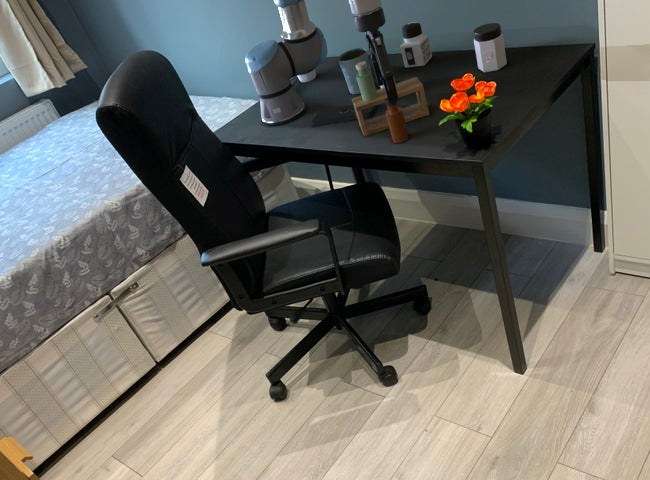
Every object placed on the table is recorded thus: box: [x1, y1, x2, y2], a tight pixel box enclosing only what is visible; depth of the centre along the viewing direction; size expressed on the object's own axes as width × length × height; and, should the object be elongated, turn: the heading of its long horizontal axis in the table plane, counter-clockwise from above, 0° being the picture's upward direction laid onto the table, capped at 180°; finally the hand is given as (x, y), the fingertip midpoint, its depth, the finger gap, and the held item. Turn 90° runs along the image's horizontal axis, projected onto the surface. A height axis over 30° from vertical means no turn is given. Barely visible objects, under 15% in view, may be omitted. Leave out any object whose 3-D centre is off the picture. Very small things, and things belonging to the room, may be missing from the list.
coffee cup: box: [297, 68, 317, 83], centre depth 234 cm, size 11×11×12 cm
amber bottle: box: [384, 98, 410, 144], centre depth 172 cm, size 5×5×12 cm
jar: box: [473, 22, 508, 73], centre depth 194 cm, size 9×8×12 cm
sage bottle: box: [356, 62, 377, 101], centre depth 178 cm, size 4×4×10 cm
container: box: [399, 21, 433, 68], centre depth 215 cm, size 8×8×13 cm
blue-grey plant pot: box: [337, 47, 373, 95], centre depth 210 cm, size 10×10×12 cm
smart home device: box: [311, 104, 378, 126], centre depth 199 cm, size 8×2×20 cm
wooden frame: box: [351, 76, 430, 138], centre depth 184 cm, size 8×20×9 cm, turn 100°
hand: (388, 92), depth 168 cm, fingers open, 13 cm apart
